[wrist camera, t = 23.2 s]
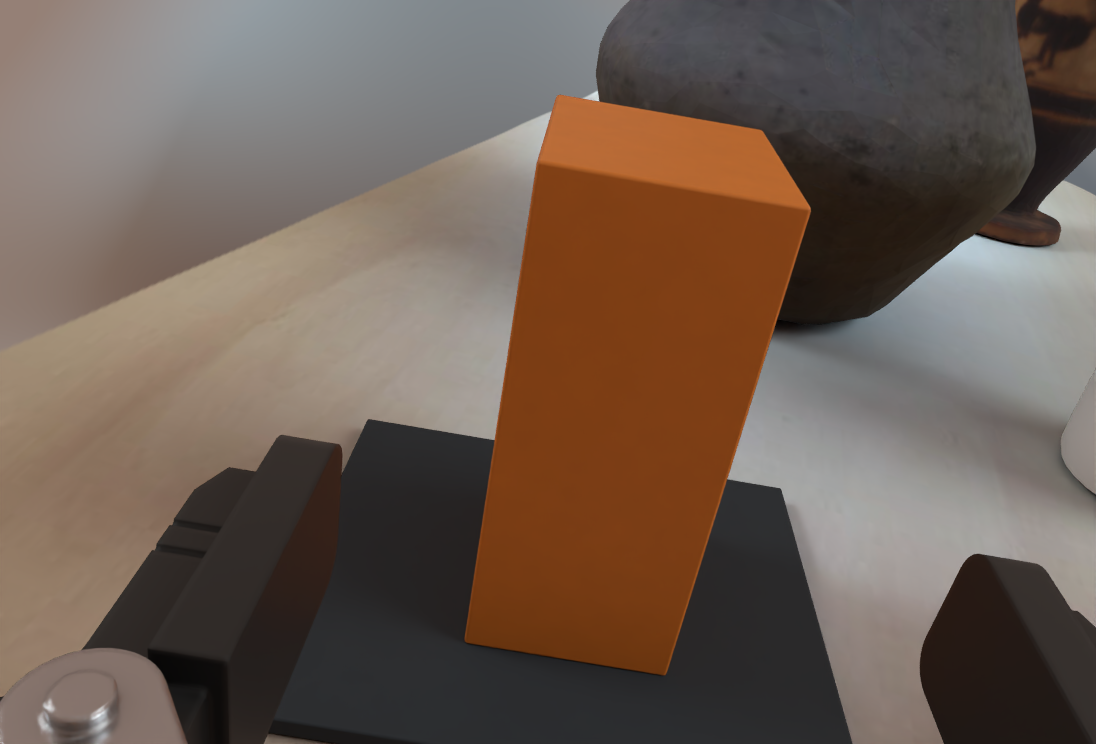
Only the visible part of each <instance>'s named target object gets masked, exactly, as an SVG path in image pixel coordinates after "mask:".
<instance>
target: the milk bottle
mask: <svg viewBox="0 0 1096 744" xmlns="http://www.w3.org/2000/svg"><path fill="white" fill-rule="evenodd" d="M1061 456H1062V458H1063V460H1064V462H1065V465H1066V466H1067V468H1068V469H1069V470H1070V471H1071V473H1072V474H1073V475H1074V476H1075V477H1076V478H1077V479H1078V480H1079V481H1080V482H1081V483H1082V484H1083V485H1084V486H1085V487H1086V488H1088V489H1089V490H1090V491H1092V492H1093V493H1094V494H1096V369H1095V371H1094V373H1093V374H1092V376H1091V378H1090V380H1089V382H1088V384H1087V386H1086V388H1085V390H1084V392H1083V394H1082V396H1081V398H1080V399H1079V401H1078V403H1077V405H1076V407H1075V409H1074V411H1073V413H1072V415H1071V417H1070V419H1069V421H1068V423H1067V426H1066V428H1065V430H1064V432H1063V434H1062V437H1061Z"/></svg>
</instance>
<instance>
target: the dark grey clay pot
mask: <svg viewBox="0 0 1096 744" xmlns="http://www.w3.org/2000/svg"><path fill="white" fill-rule="evenodd" d="M1015 1H1016V0H630V1H629V2H628V3H627V4H626V5H625V6H624V7H623V8H622V9H621V10H620V11H619V13H618V14H617V15H616V16H615V18H614V19H613V20H612V22H611V23H610V24H609V26H608V27H607V29H606V32H605V34H604V36H603V39H602V41H601V43H600V49H599V55H598V62H597V69H596V78H597V86H598V94H599V101H600V102H604V103H610V104H615V105H621V106H627V107H632V108H638V109H644V110H650V111H655V112H661V113H667V114H672V115H678V116H684V117H690V118H695V119H701V120H707V121H712V122H718V123H724V124H730V125H735V126H741V127H747V128H752V129H758V130H761V131H763V132H764V134H765V136H766V137H767V139H768V140H769V142H770V144H771V145H772V147H773V148H774V150H775V152H776V153H777V155H778V156H779V158H780V160H781V161H782V163H783V164H784V166H785V168H786V169H787V171H788V172H789V174H790V176H791V177H792V179H793V180H794V182H795V184H796V185H797V187H798V188H799V190H800V192H801V193H802V195H803V196H804V198H805V200H806V201H807V203H808V204H809V206H810V208H811V212H810V216H809V219H808V222H807V225H806V228H805V232H804V235H803V238H802V241H801V244H800V248H799V251H798V254H797V257H796V260H795V264H794V267H793V270H792V273H791V276H790V280H789V283H788V286H787V289H786V292H785V296H784V299H783V302H782V305H781V308H780V312H779V315H778V318H777V319H779V320H784V321H789V322H794V323H798V324H824V323H831V322H838V321H845V320H851V319H857V318H863V317H868V316H870V315H871V314H873V313H875V312H876V311H878V310H880V309H881V308H883V307H884V306H886V305H887V304H888V303H890V302H891V301H892V300H893V299H894V298H895V297H897V296H898V295H899V294H900V293H901V292H902V291H904V290H905V289H906V288H907V287H908V286H909V285H911V284H912V283H913V282H914V281H915V280H916V279H918V278H919V277H920V276H921V275H923V274H924V273H925V272H926V271H927V270H929V269H930V268H931V267H932V266H933V265H935V264H936V263H937V262H938V261H940V260H941V259H942V258H943V257H945V256H946V255H947V254H948V253H950V252H951V251H952V250H953V249H954V248H955V247H957V246H958V245H959V244H960V243H961V242H963V241H965V240H967V239H968V238H970V237H972V236H973V235H974V234H975V233H977V232H978V231H979V230H980V229H981V228H982V227H983V226H985V225H986V224H987V223H988V222H989V221H990V220H992V219H993V218H994V217H995V216H996V215H997V214H999V213H1000V212H1001V211H1002V210H1003V209H1004V208H1005V207H1007V206H1008V205H1009V204H1010V203H1011V202H1012V201H1013V200H1014V199H1015V197H1016V196H1017V195H1018V194H1019V193H1020V191H1021V189H1022V187H1023V185H1024V183H1025V181H1026V180H1027V178H1028V176H1029V174H1030V172H1031V170H1032V168H1033V167H1034V161H1035V152H1036V143H1035V135H1034V127H1033V119H1032V111H1031V105H1030V100H1029V95H1028V89H1027V84H1026V79H1025V73H1024V68H1023V62H1022V57H1021V52H1020V46H1019V41H1018V32H1017V21H1016V11H1015Z"/></svg>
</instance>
